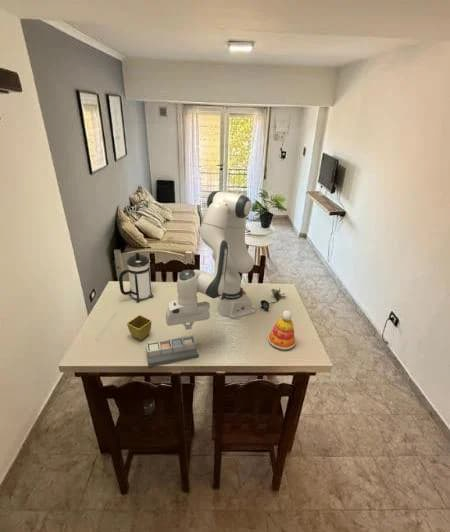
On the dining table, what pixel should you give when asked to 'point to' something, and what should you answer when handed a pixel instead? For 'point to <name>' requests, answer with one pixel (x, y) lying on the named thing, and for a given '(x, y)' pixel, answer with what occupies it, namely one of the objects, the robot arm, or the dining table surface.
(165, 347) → the key terracotta
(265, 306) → the artificial flower
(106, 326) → the butter knife
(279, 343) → the stacking toy
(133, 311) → the dining table surface
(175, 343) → the key slate
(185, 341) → the key ivory
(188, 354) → the keypad
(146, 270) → the coffee press
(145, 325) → the flower pot
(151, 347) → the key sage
